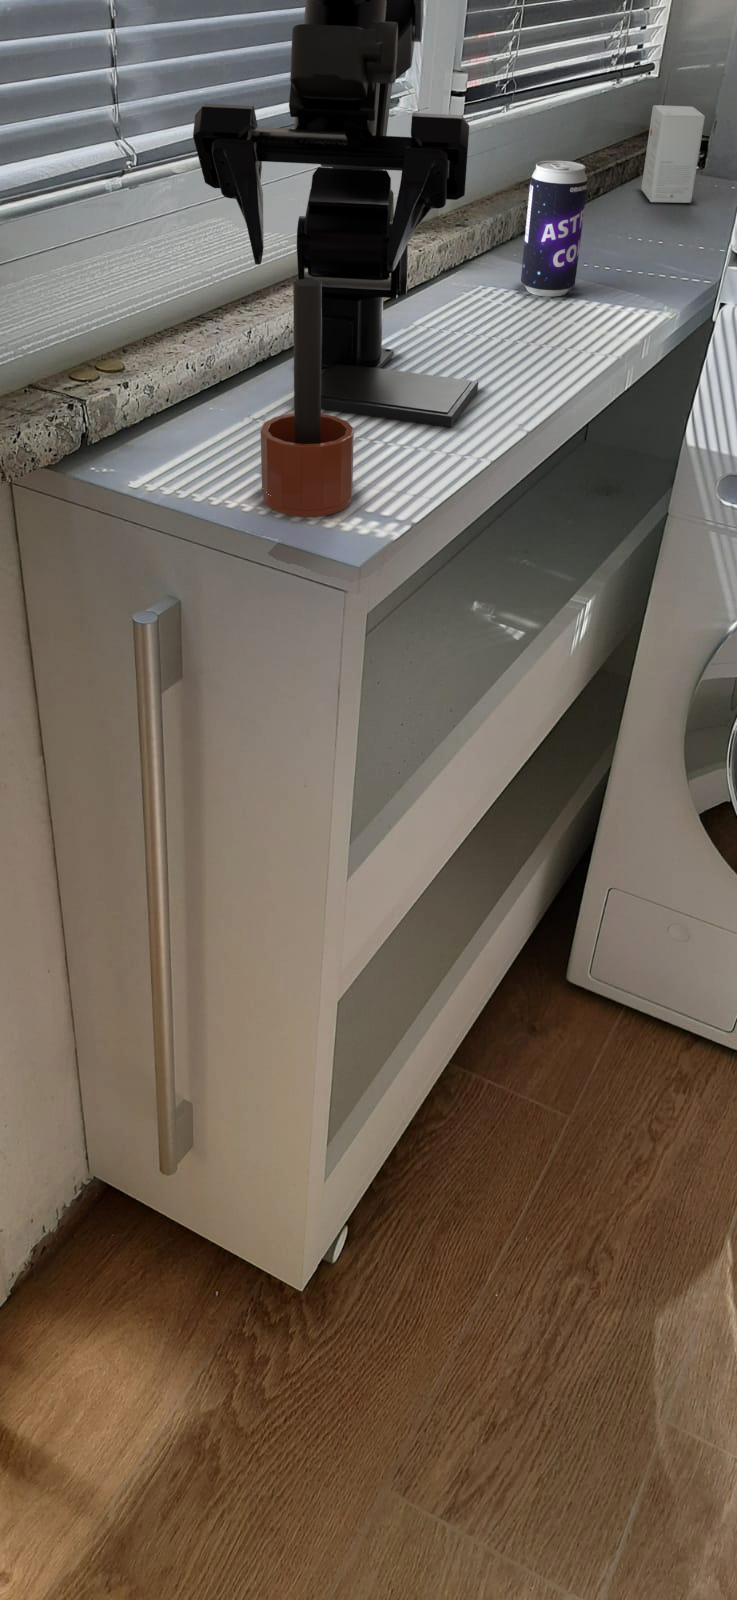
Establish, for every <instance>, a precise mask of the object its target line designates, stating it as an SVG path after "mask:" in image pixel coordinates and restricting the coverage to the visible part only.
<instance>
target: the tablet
mask: <svg viewBox="0 0 737 1600" xmlns="http://www.w3.org/2000/svg"><path fill="white" fill-rule="evenodd" d="M478 391H479V381H478V380H471V379H462V378H456V377H447V376H440V375H432V374H425V373H417V372H410V371H403V370H402V371H401V370H396V369H387V368H373V367H366V366H358V365H350V366H347V365H340V364H335V365H330V366H328V367H327V368H326V369H325V370H323V371H321V410H323V411H333V412H339V413H346V414H352V415H354V414H355V415H361V416H365V417H366V416H367V417H375V418H381V419H388V420H394V421H395V420H396V421H402V422H409V423H416V424H423V425H429V426H430V425H431V426H437V427H445V428H452V427H453V425H454V424H455V423H456V421H457V420H458V419H459V417H460V416H461V415H462V414H463V412H464V410H465V409H466V408H467V406H468V405H469V404H470V403H471V401H472V400H473V399H474V397H475V396H476V394H477V393H478Z"/></svg>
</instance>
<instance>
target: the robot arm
mask: <svg viewBox="0 0 737 1600" xmlns="http://www.w3.org/2000/svg"><path fill="white" fill-rule="evenodd" d="M424 2H425V1H424V0H305V6H304V18H303V23H300V24H295V25H294V26H293V27H292V29H291V32H292V33H291V53H290V73H289V74H290V75H289V76H290V77H289V82H290V89H289V100H288V108H289V109H288V110H289V116H290V118H294V126H293V128H281V127H261V126H260V127H259V126H258V120H257V114H256V110H255V105H247V104H246V105H245V104H223V103H222V104H221V103H204V105H202V106H201V108H199V109H198V110H197V112H196V113H195V115H194V123H193V134H192V137H193V138H192V139H193V143H194V146H195V149H196V153H197V157H198V161H199V165H200V169H201V173H202V176H203V180H204V184H206V185H208V186H210V187H211V188H213V189H219V190H220V193H221V195H222V196H223V197H225V198H227V199H232V200H233V199H234V200H236V202H237V205H238V207H239V209H240V212H241V215H242V217H243V219H244V222H245V224H246V228H247V233H248V237H249V243H250V247H251V251H252V256H253V261H254V264H255V265H258V266H259V265H261V264H262V259H263V256H264V255H263V254H264V191H263V187H262V182H261V179H262V171H263V162H265V163H266V162H267V163H284V164H285V163H286V164H287V163H288V164H306V165H320V166H318V167H317V168H316V169H315V171H314V172H313V174H312V176H311V186H310V190H309V194H308V200H307V204H306V211H305V215H304V216H303V215H300V216H298V220H297V229H296V260H297V276H298V277H297V278H298V279H297V280H300V279H314V280H318V281H320V282H321V283H322V329H321V371H322V370H323V371H324V370H325V369H326V368H327V367H328V366H330V365H335V364H340V365H347V366H350V365H358V366H366V367H373V368H381V369H383V367H384V366H385V365H386V364H387V363H388V361H390V360H391V358H393V356H394V349H392V348H385V347H382V346H383V345H382V344H383V321H384V320H383V318H384V298H388V299H391V300H397V299H398V297H399V296H402V295H406V294H407V293H408V270H409V268H408V266H409V243H410V240H411V238H412V236H413V235H414V233H415V232H416V231H417V229H418V228H419V227H420V225H421V224H422V222H423V221H424V219H425V218H426V217H427V216H428V215H429V213H430V211H431V210H434V209H437V210H438V209H442V208H444V207H446V204H447V200H450V201H451V200H452V201H457V200H459V199H461V198H463V197H465V194H466V180H467V166H468V154H469V153H468V151H469V137H470V124H469V122H468V121H467V120H466V119H465V117H464V116H463V115H461V114H442V113H441V114H440V113H418V112H413V113H412V115H411V124H410V127H411V128H410V136H395V135H388V125H389V117H390V116H389V115H390V108H391V98H392V91H393V90H392V89H393V85H394V84H395V83H396V80H397V79H399V78H400V77H401V76H402V75H404V74H405V73H406V72H407V71H409V69H411V68H412V65H413V57H414V50H415V43H422V38H423V27H424V7H425V6H424V5H425V4H424ZM388 171H401V177H400V183H399V189H398V194H397V199H396V202H394V198H395V197H394V195H395V194H394V191H393V190H392V179H391V176H390V174H389V172H388ZM394 203H395V204H394ZM394 205H395V206H394ZM394 207H395V208H394Z"/></svg>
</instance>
